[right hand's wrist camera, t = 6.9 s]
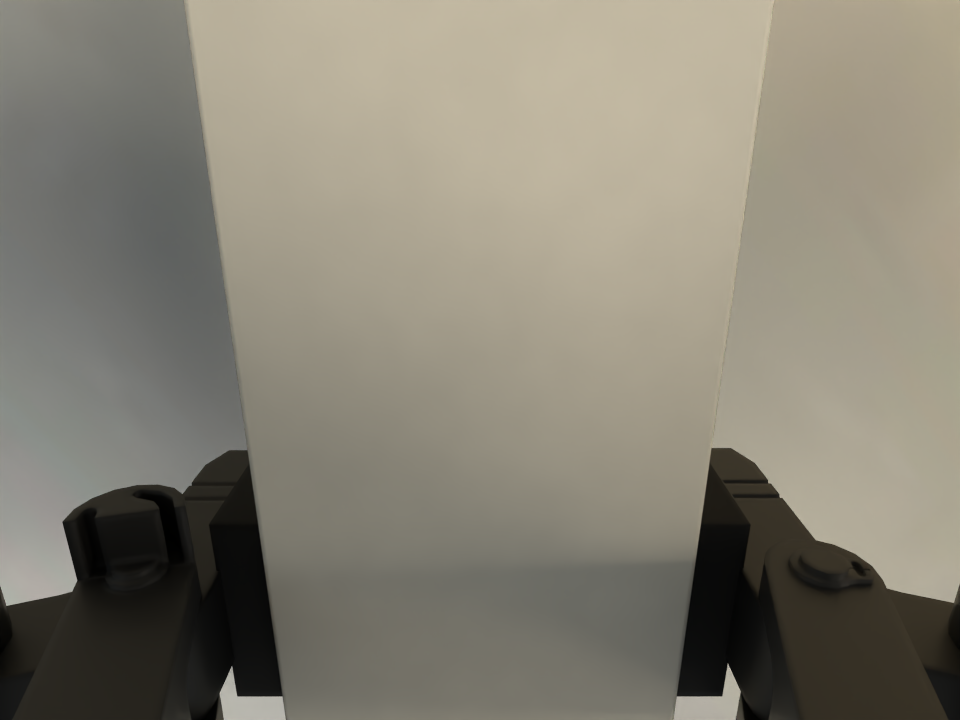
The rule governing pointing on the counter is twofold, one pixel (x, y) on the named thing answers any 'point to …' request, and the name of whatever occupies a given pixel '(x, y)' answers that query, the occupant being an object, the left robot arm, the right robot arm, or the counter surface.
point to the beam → (479, 335)
